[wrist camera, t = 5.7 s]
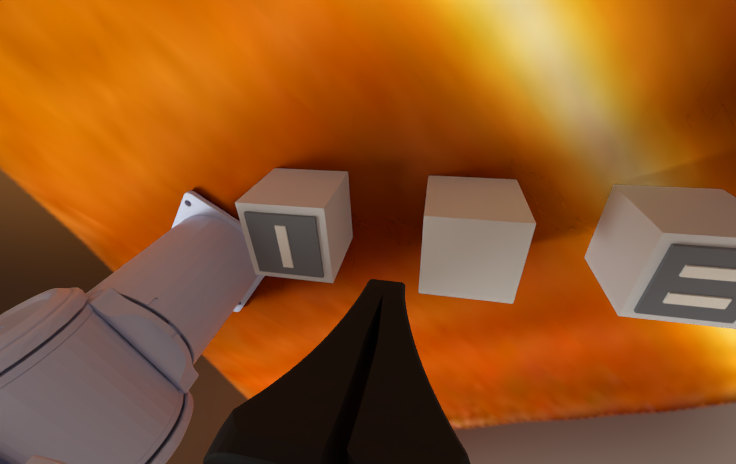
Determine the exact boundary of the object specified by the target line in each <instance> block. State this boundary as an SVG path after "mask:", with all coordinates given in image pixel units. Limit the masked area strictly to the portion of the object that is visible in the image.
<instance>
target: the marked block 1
mask: <svg viewBox="0 0 736 464" xmlns="http://www.w3.org/2000/svg"><path fill="white" fill-rule="evenodd" d="M235 205H236V209H237V212H238V216H239V219H240V223H241V226H242V230H243V233H244V236H245V240H246V243H247V247H248V250H249V254H250V257H251V261H252V264H253V268H254V271H255V274H256V275H265V276H274V277H282V278H291V279H300V280H309V281H318V282H327V283H333V282H334V280H335V278H336V275H337V273H338V271H339V268H340V266H341V264H342V261H343V259H344V257H345V254H346V252H347V250H348V247H349V245H350V243H351V240H352V238H353V233H352V219H351V205H350V191H349V177H348V171H327V170H305V169H283V168H274V169H273V170H272V171H271V172H270V173H268V174H267V175H266V176H265V177H264V178H263V179H261V180H260V181H259V182H258V183H257V184H256V185H254V186H253V187H252V188H251V189H250V190H249V191H247V192H246V193H245V194H244V195H243V196H242V197H240V198H239V199H238V200H237V201H236V202H235Z"/></svg>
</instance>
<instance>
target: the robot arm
mask: <svg viewBox="0 0 736 464" xmlns="http://www.w3.org/2000/svg"><path fill="white" fill-rule="evenodd" d="M189 201H190V202H191V203H190V202H189ZM264 276H265V275H256V274H255V271H254V268H253V264H252V261H251V257H250V254H249V250H248V247H247V243H246V240H245V236H244V233H243V230H242V226H241V223H240V221H238V220H237V219H235V218H234V217H232V216H231V215H229V214H228V213H226V212H225V211H223V210H222V209H220V208H218V207H217V206H215V205H214V204H212V203H211V202H209V201H208V200H206V199H205V198H203V197H202V196H200V195H199V194H197V193H196V192H194V191H191V190H190V191H187V192H186V193H185V194H184V196H183V198H182V201H181V204H180V207H179V209H178V212H177V215H176V217H175V220H174V223H173V226H172V228H171V230H170V231H168V232H167V233H166V234H164V235H163V236H162V237H160V238H159V239H158V240H156V241H155V242H154V243H152V244H151V245H150V246H149V247H147V248H146V249H145V250H143V251H142V252H141V253H139V254H138V255H137V256H135V257H134V258H133V259H131V260H130V261H129V262H127V263H126V264H125V265H123V266H122V267H121V268H120V269H118V270H117V271H116V272H114V273H113V274H112V275H110V276H109V277H108V278H106V279H105V280H104V281H102V282H101V283H100V284H98V285H97V286H96V287H95V288H93V289H92V290H91V291H89V292H88V293H86V294H85V293H84V292H83V291H82V290H81V289H79V288H69V289H65V288H62V289H61V288H56V289H51V290H48V291H46V292H43V293H41V294H39V295H37V296H35V297H32V298H30V299H28V300H27V301H25V302H23V303H21V304H19V305H17V306H15V307H13V308H12V309H10V310H8V311H6V312H5V313H3V314H1V315H0V464H165V463H166V462H167V461H168V460H169V458H170V457H171V456H172V454H173V453H174V451H175V450H176V448H177V447H178V445H179V443H180V441H181V440H182V438H183V436H184V434H185V431H186V429H187V426H188V424H189V421H190V419H191V415H192V411H193V398H192V395H191V394H190V392H189V391H188V390H189V389H190V387H191V386H192V385H193V383H194V382H195V380H196V379H197V377H198V373H197V372H196V371H195V369H194V368H193V365H194V363H195V362H196V360H197V359H198V358H199V356H200V355H201V354H202V352H203V351H204V350H205V348H206V347H207V345H208V344H209V343H210V341H211V340H212V339H213V337H214V336H215V335H216V333H217V332H218V331H219V329H220V328H221V326H222V325H223V324H224V322H225V321H226V320H227V318H228V317H229V316H230V314H231V313H232V311H235V312H239V311H240V310H241V309H242V307H243V306H244V304H245V303H246V302H247V300H248V299H249V297H250V296H251V295H252V293H253V292H254V290H255V289H256V287H257V286H258V285H259V283H260V282H261V280H262V279H263V278H264ZM203 464H470V461H469V458H468V455H467V453H466V451H465V449H464V448H463V446H462V444H461V443H460V441H459V439H458V438H457V436H456V434H455V432H454V431H453V429H452V427H451V425H450V423H449V421H448V420H447V418H446V416H445V414H444V412H443V410H442V408H441V406H440V404H439V402H438V400H437V398H436V396H435V394H434V391H433V389H432V387H431V385H430V383H429V381H428V378H427V376H426V373H425V371H424V368H423V366H422V363H421V361H420V358H419V355H418V352H417V349H416V346H415V343H414V339H413V336H412V332H411V329H410V324H409V320H408V316H407V310H406V303H405V284H404V283H402V282H393V281H384V280H375V279H371V280H370V281H369V282H368V283H367V285H366V287H365V288H364V290H363V292H362V293H361V295H360V296H359V298H358V299H357V300H356V302H355V303H354V305H353V306H352V307H351V308H350V310H349V311H348V312H347V314H346V315H345V316H344V317H343V319H342V320H341V321H340V322H339V323H338V324H337V326H336V327H335V328H334V329H333V330H332V331H331V333H330V334H329V335H328V336H327V337H326V338H325V339H324V340H323V341H322V342H321V343H320V344H319V345H318V346H317V347H316V348H315V349H314V350H313V351H312V352H311V353H310V354H308V355H307V356H306V357H305V358H304V359H303V360H302V361H301V362H299V363H298V364H297V365H296V366H295V367H293V368H292V369H291V370H290V371H289V372H287V373H286V374H285V375H283V376H282V377H281V378H279V379H278V380H277V381H275V382H274V383H273V384H271V385H270V386H269V387H267V388H266V389H264V390H263V391H261V392H260V393H258V394H257V395H255V396H254V397H252V398H251V399H249V400H248V401H246V402H244V403H243V404H241V405H240V406H238V407H237V408H235V409H234V410H233V411H232V412H231V414H230V415H229V417H228V418H227V420H226V421H225V422H224V424H223V425H222V427H221V429H220V430H219V432H218V433H217V435H216V437H215V439H214V441H213V443H212V444H211V446H210V448H209V450H208V452H207V454H206V455H205V457H204V461H203Z"/></svg>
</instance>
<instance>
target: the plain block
mask: <svg viewBox="0 0 736 464" xmlns="http://www.w3.org/2000/svg"><path fill="white" fill-rule="evenodd" d="M535 226H536V222H535V220H534V217H533V215H532V213H531V211H530V208H529V206H528V204H527V202H526V199H525V197H524V195H523V193H522V190H521V188H520V186H519V184H518V181H517V179H496V178H474V177H453V176H431V175H428V184H427V192H426V201H425V210H424V220H423V235H422V249H421V264H420V278H419V293H423V294H432V295H441V296H449V297H458V298H467V299H476V300H484V301H493V302H502V303H511V304H513V302H514V299H515V295H516V292H517V288H518V285H519V281H520V278H521V274H522V271H523V268H524V264H525V261H526V257H527V254H528V250H529V247H530V244H531V240H532V237H533V233H534V230H535Z"/></svg>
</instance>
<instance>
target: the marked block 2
mask: <svg viewBox="0 0 736 464" xmlns="http://www.w3.org/2000/svg"><path fill="white" fill-rule="evenodd" d="M584 258H585V260H586V261H587V263H588V265H589V267H590V268H591V270H592V272H593V273H594V275H595V277H596V279H597V280H598V282H599V284H600V285H601V287H602V289H603V291H604V292H605V294H606V296H607V297H608V299H609V301H610V303H611V304H612V306H613V308H614V309H615V311H616V313H617V315H618V316H623V317H633V318H642V319H651V320H660V321H669V322H678V323H687V324H696V325H705V326H714V327H723V328H732V329H736V197H734V196H733V195H731V194H729V193H728V192H726V191H725V190H723V189H712V188H688V187H664V186H641V185H617V184H614V185H613V187H612V190H611V192H610V195H609V197H608V200H607V202H606V205H605V207H604V210H603V212H602V214H601V217H600V219H599V222H598V224H597V227H596V229H595V232H594V234H593V237H592V239H591V242H590V244H589V247H588V249H587V252H586V254H585V257H584Z"/></svg>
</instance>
